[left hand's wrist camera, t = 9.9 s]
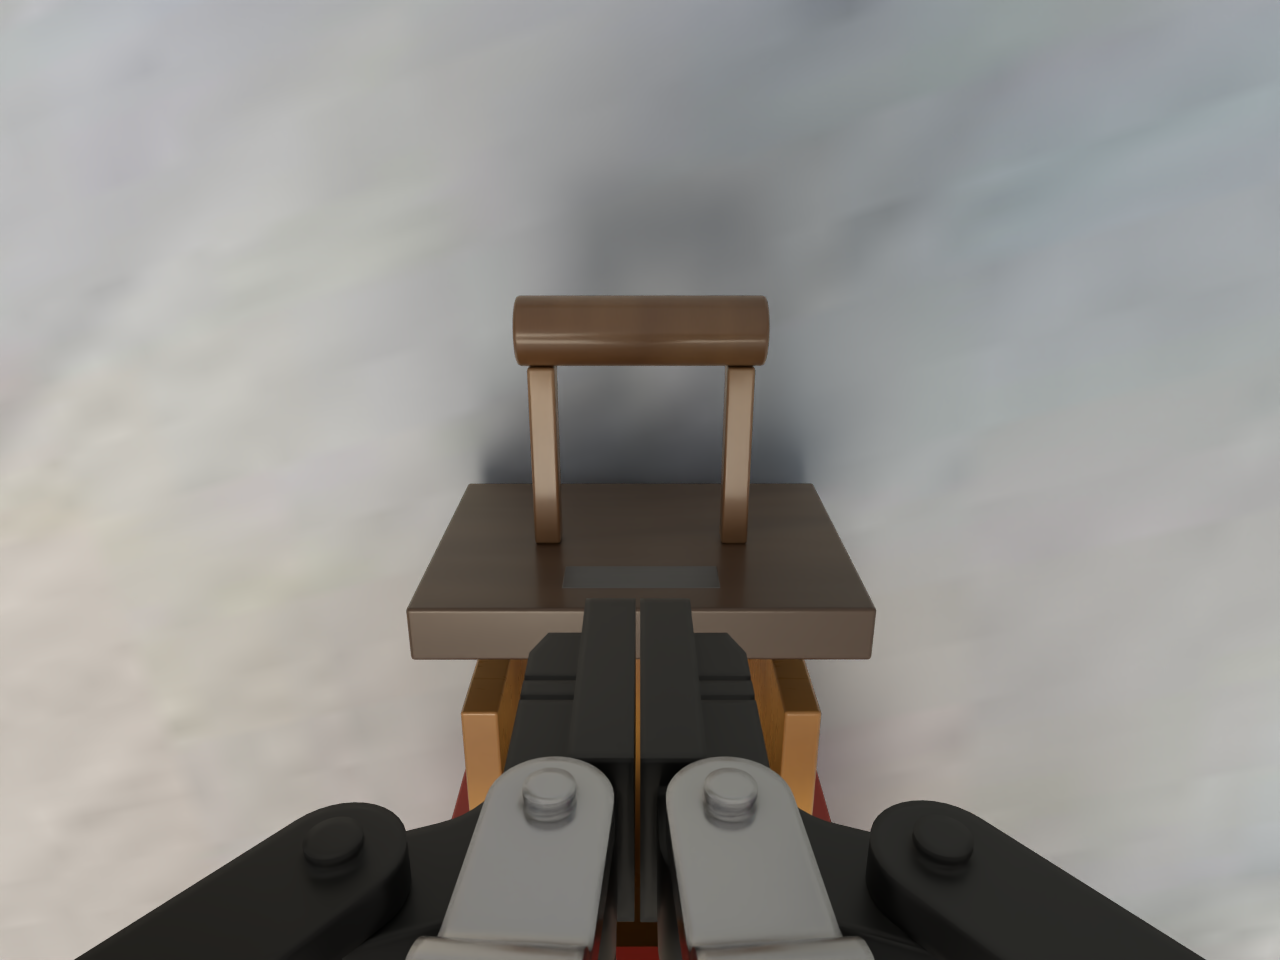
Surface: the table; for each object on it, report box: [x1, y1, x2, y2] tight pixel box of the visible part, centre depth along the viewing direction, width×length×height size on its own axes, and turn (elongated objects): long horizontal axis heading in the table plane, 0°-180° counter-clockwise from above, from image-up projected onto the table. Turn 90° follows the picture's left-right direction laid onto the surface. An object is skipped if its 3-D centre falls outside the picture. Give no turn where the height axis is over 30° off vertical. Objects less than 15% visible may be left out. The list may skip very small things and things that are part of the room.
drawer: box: [406, 296, 876, 946], centre depth 23 cm, size 25×9×7 cm, turn 0°
